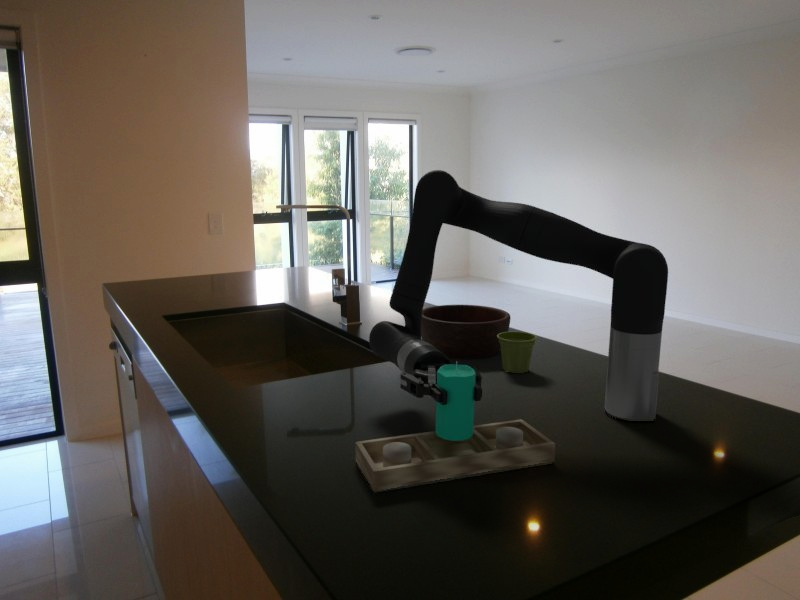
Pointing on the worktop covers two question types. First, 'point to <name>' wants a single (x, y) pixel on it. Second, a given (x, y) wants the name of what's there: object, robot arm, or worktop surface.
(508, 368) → the plant pot
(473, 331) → the wooden bowl
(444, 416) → the candle
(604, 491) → the worktop surface
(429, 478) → the tray
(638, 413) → the robot arm
